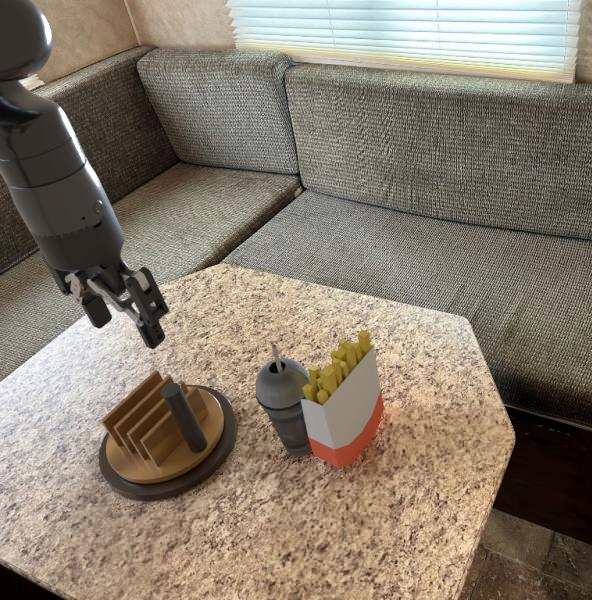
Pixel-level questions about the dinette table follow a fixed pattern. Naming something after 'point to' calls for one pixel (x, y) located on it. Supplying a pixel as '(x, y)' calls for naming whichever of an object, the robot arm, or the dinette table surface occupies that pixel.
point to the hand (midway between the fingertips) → (130, 333)
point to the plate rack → (162, 430)
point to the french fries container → (343, 403)
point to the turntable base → (185, 480)
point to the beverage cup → (285, 401)
